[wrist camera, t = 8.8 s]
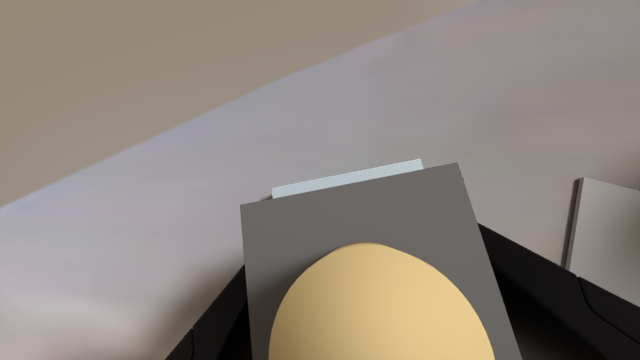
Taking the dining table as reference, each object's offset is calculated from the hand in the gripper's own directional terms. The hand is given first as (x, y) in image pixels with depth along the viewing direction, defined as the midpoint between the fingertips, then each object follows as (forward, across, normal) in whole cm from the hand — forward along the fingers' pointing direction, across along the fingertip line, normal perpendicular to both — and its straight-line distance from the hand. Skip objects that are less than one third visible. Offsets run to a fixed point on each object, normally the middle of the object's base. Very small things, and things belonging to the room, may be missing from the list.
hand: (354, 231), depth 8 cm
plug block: (+5, 0, +7) cm, 8 cm away
